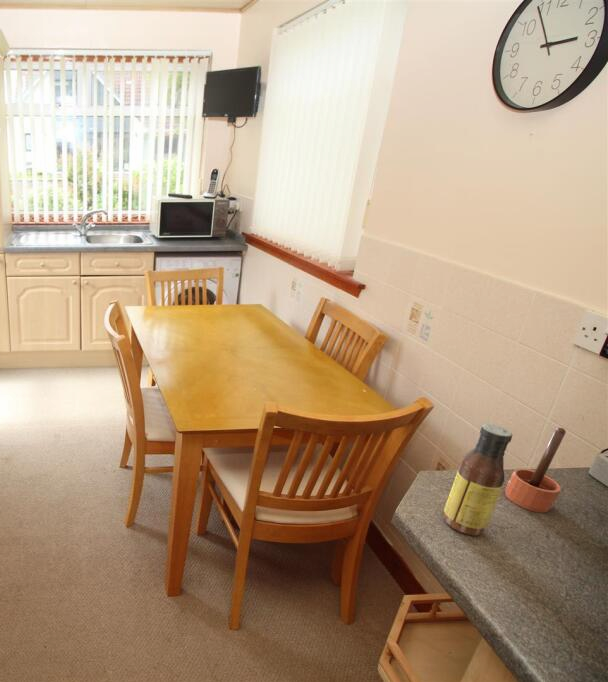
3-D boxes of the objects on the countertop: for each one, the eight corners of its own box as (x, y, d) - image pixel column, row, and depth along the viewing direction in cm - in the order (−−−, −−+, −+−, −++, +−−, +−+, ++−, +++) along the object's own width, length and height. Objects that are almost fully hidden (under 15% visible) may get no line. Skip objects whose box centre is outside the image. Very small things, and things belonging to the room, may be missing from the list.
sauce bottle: (490, 532, 84) (535, 438, 77) (468, 541, 82) (511, 445, 74) (453, 508, 90) (491, 417, 82) (431, 515, 88) (468, 423, 80)
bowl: (525, 488, 96) (535, 467, 94) (560, 512, 90) (571, 491, 88) (494, 489, 96) (504, 468, 94) (527, 514, 89) (538, 492, 87)
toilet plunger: (527, 490, 94) (560, 422, 88) (545, 503, 91) (580, 433, 85) (511, 491, 94) (543, 423, 88) (528, 503, 91) (563, 433, 85)
